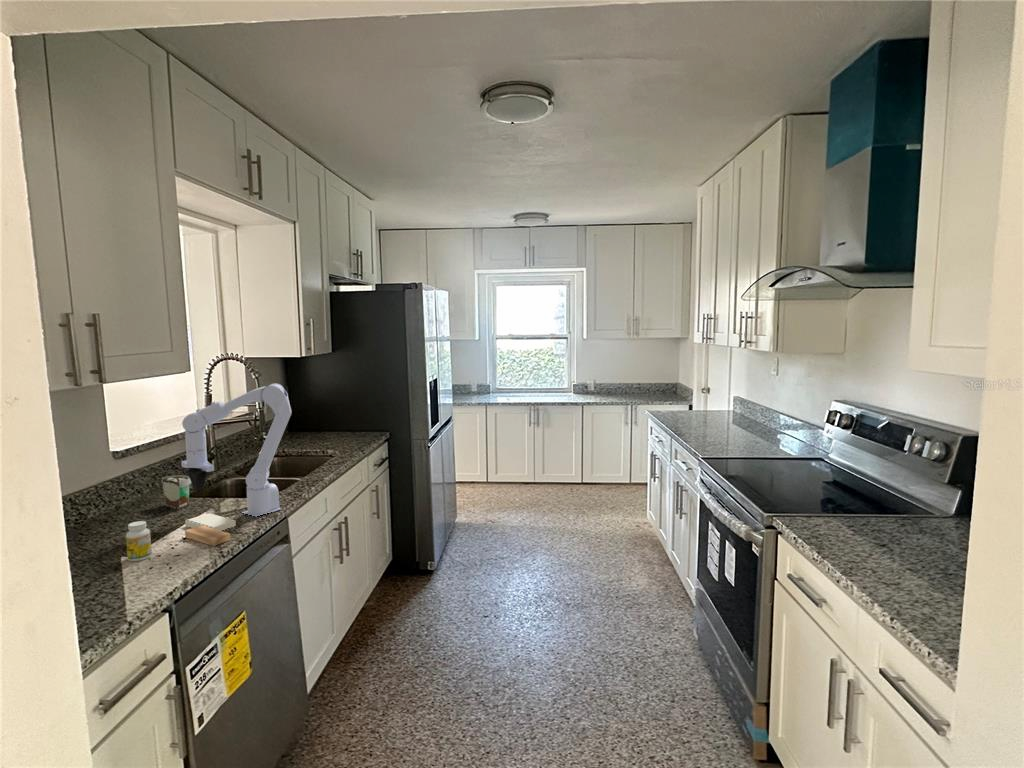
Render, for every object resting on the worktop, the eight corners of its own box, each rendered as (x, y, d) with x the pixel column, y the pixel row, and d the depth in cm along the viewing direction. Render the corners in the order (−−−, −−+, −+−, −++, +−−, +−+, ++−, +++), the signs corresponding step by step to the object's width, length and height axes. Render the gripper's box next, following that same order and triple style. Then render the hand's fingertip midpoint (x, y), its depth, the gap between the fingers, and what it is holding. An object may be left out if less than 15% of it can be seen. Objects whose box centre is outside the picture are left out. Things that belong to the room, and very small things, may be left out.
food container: (199, 505, 187) (198, 477, 186) (181, 510, 181) (179, 482, 180) (181, 500, 193) (179, 473, 192) (163, 504, 188) (161, 477, 187)
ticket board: (209, 519, 173) (208, 512, 172) (235, 526, 166) (235, 519, 166) (185, 526, 166) (185, 519, 166) (212, 534, 159) (212, 527, 159)
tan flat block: (202, 531, 161) (201, 525, 161) (230, 540, 155) (230, 533, 154) (185, 537, 157) (185, 530, 157) (213, 546, 150) (213, 539, 150)
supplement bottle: (155, 556, 144) (153, 522, 143) (133, 563, 139) (130, 528, 138) (145, 552, 146) (143, 518, 146) (123, 559, 142) (121, 524, 141)
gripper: (170, 449, 171) (173, 490, 172) (197, 454, 164) (199, 497, 165) (192, 445, 177) (195, 485, 178) (219, 450, 170) (221, 491, 171)
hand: (198, 490), depth 172 cm, fingers closed
